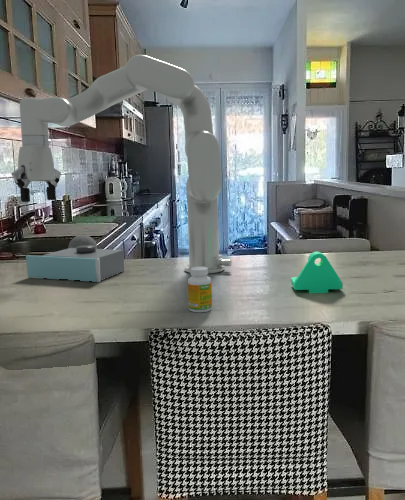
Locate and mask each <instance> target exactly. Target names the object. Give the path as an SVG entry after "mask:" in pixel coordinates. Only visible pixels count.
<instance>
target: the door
mask: <svg viewBox="0 0 405 500" xmlns="http://www.w3.org/2000/svg"><path fill="white" fill-rule="evenodd" d="M25 260H26V273H27V278H28V277H38V278H37V279H43V278H47V279H49V280H59V279H68V280H67V281H74V280H80V281H79V282H89V281H92V282H91V283H93V282H94V283H101V282H102V281H101V276H100V261H99V258H76V257H54V256H43V255H30V254H29V255H25Z"/></svg>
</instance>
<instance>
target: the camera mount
mask: <svg viewBox="0 0 405 500" xmlns="http://www.w3.org/2000/svg"><path fill="white" fill-rule="evenodd" d="M317 259H320V262H318V263H316V260H317ZM337 273H338V272H336V270H335V268H334V267H333V266H332V264H331V262H330V261H329V260H328V258H327V256H326V255H324V253H322V252H321V251H313V252H311V253H310V254H309V256H308V258H307V261H306V263H305V265H304V266H303V268H302V269H301V271H300V273H299V274H298V276H293V277H290V283H291V284H290V285H291V286H292V288H293V289H294V291H299V290H300V291H302V290H305V291H306V290H307V292H308V294H329V290H343V281H342V280H341V278H340V277H339V275H338V274H337Z"/></svg>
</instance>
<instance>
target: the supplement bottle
mask: <svg viewBox="0 0 405 500" xmlns="http://www.w3.org/2000/svg"><path fill="white" fill-rule="evenodd" d="M189 274H190V275H191V276H190V277H188V279H187V296H188V297H187V299H188V300H187V301H188V302H187V304H188V310H189V311H190V312H192V313H207V312H210V311H211V310H212V309H213V299H212V297H213V296H212V294H213V293H212V292H213V291H212V290H213V289H212V278H211V277H210V276H208V275H209V274H208V268H207V267H192V268H190V273H189Z"/></svg>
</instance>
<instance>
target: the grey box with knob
mask: <svg viewBox="0 0 405 500" xmlns="http://www.w3.org/2000/svg"><path fill="white" fill-rule="evenodd" d="M42 256H54V257H76V258H99V261H100V276H101V280H102V279H104V278H107V277H110V276H112V275H115V274H117V273H120V272H122V273H124V272H125V260H124V250H123V249H110V248H109V249H108V248H107V249H106V248H105V249H104V248H97V249H96V246H94V245H84V246H78V247H76V248H65V249H62V250H57V251H54V252H50V253H46V254H42ZM123 271H124V272H123ZM120 274H121V273H120ZM117 275H118V274H117ZM115 276H116V275H115ZM112 277H113V276H112ZM110 278H111V277H110ZM107 279H108V278H107ZM102 281H103V280H102Z"/></svg>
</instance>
